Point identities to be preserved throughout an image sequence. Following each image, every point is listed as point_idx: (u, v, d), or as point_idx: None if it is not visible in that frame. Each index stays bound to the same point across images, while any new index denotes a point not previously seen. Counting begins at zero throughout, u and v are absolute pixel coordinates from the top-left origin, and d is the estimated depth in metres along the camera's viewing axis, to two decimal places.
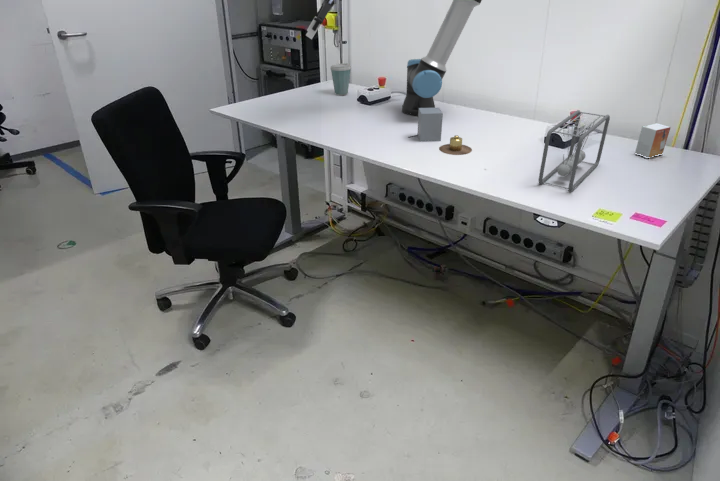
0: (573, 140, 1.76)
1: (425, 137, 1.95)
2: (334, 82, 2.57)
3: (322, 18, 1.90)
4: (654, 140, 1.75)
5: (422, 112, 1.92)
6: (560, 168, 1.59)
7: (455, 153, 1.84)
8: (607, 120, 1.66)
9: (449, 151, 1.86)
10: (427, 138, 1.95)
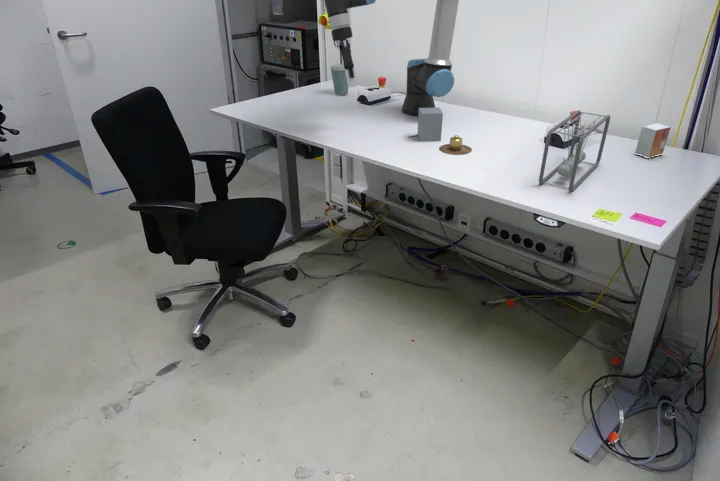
0: (573, 140, 1.76)
1: (425, 137, 1.95)
2: (334, 82, 2.57)
3: (350, 61, 1.83)
4: (654, 140, 1.75)
5: (422, 112, 1.92)
6: (560, 168, 1.59)
7: (455, 153, 1.84)
8: (607, 120, 1.66)
9: (449, 151, 1.86)
10: (427, 138, 1.95)
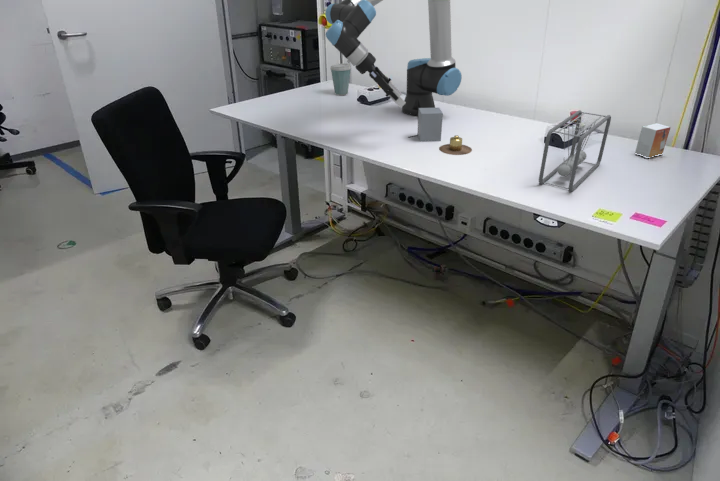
0: (574, 140, 1.76)
1: (425, 137, 1.95)
2: (334, 82, 2.57)
3: (388, 88, 1.80)
4: (654, 140, 1.75)
5: (422, 112, 1.92)
6: (560, 168, 1.59)
7: (455, 153, 1.84)
8: (608, 120, 1.66)
9: (449, 151, 1.86)
10: (427, 138, 1.95)
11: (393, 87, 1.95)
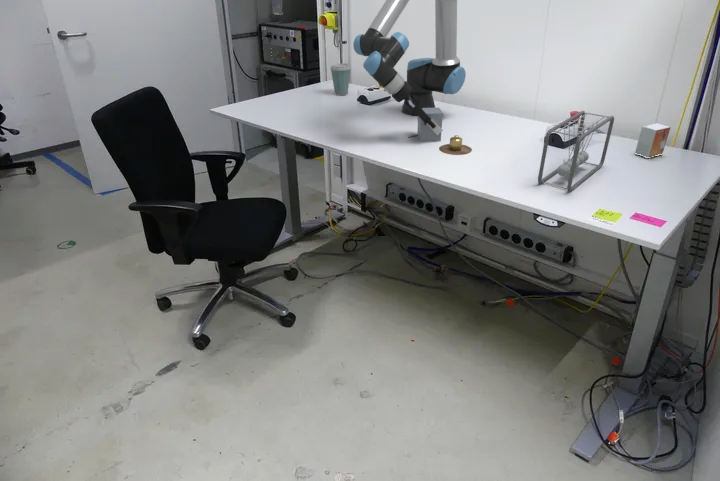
0: None
1: (425, 137, 1.95)
2: (334, 82, 2.57)
3: (426, 118, 1.87)
4: (654, 140, 1.75)
5: None
6: (560, 168, 1.59)
7: (455, 153, 1.84)
8: (611, 121, 1.65)
9: (449, 151, 1.86)
10: (427, 138, 1.95)
11: None
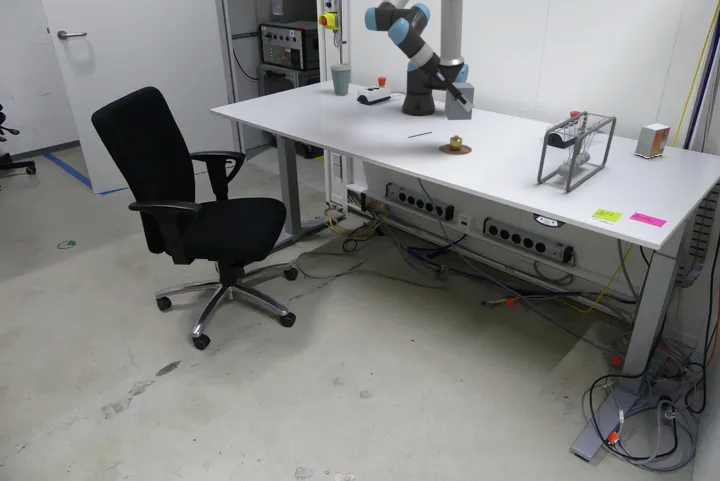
0: (580, 141, 1.75)
1: (454, 115, 1.77)
2: (334, 82, 2.57)
3: (457, 92, 1.70)
4: (654, 140, 1.75)
5: None
6: (560, 168, 1.59)
7: (455, 153, 1.84)
8: (614, 122, 1.65)
9: (449, 151, 1.86)
10: (456, 116, 1.77)
11: None
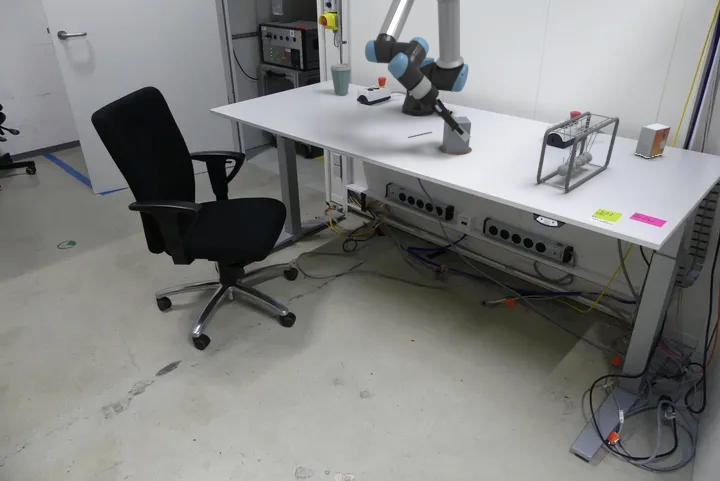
0: (583, 142, 1.74)
1: (452, 148, 1.83)
2: (334, 82, 2.57)
3: (454, 123, 1.74)
4: (653, 140, 1.75)
5: None
6: (559, 168, 1.59)
7: (455, 153, 1.84)
8: (616, 123, 1.64)
9: None
10: (454, 149, 1.84)
11: None
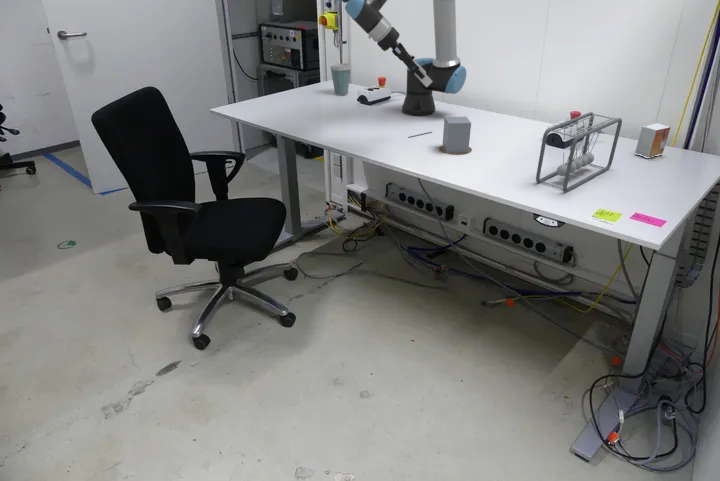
0: (586, 142, 1.74)
1: (452, 148, 1.83)
2: (334, 82, 2.57)
3: (414, 65, 1.65)
4: (654, 140, 1.75)
5: (449, 122, 1.80)
6: (559, 168, 1.59)
7: (455, 153, 1.84)
8: (619, 123, 1.63)
9: None
10: (454, 149, 1.84)
11: (417, 65, 1.81)
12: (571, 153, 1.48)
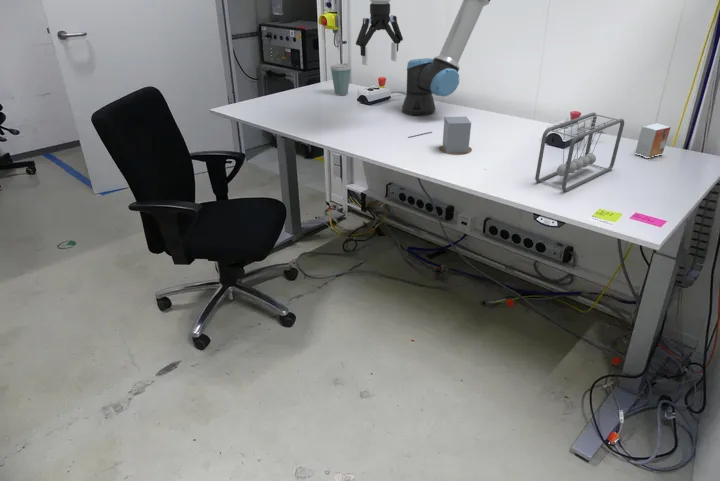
0: (588, 143, 1.73)
1: (452, 148, 1.83)
2: (334, 82, 2.57)
3: (359, 40, 1.88)
4: (654, 140, 1.75)
5: (449, 122, 1.80)
6: (559, 168, 1.59)
7: (455, 153, 1.84)
8: (621, 124, 1.62)
9: None
10: (454, 149, 1.84)
11: (394, 49, 1.98)
12: (570, 153, 1.48)
